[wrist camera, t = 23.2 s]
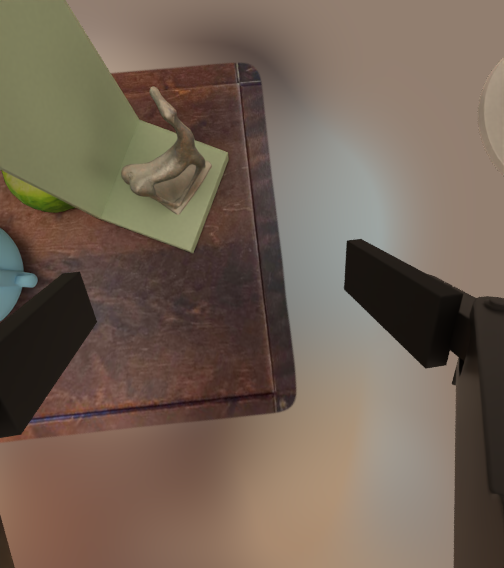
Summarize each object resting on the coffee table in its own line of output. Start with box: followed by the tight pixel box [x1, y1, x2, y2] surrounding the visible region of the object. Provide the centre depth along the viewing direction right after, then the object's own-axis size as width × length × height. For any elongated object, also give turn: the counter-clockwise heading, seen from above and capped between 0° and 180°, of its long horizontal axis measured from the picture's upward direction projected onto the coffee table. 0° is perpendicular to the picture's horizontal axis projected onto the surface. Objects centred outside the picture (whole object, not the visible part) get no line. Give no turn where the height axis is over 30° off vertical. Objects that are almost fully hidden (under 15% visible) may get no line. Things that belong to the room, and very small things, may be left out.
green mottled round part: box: [1, 170, 76, 213], centre depth 38 cm, size 12×11×5 cm
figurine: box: [121, 87, 212, 215], centre depth 31 cm, size 11×6×15 cm, turn 100°
